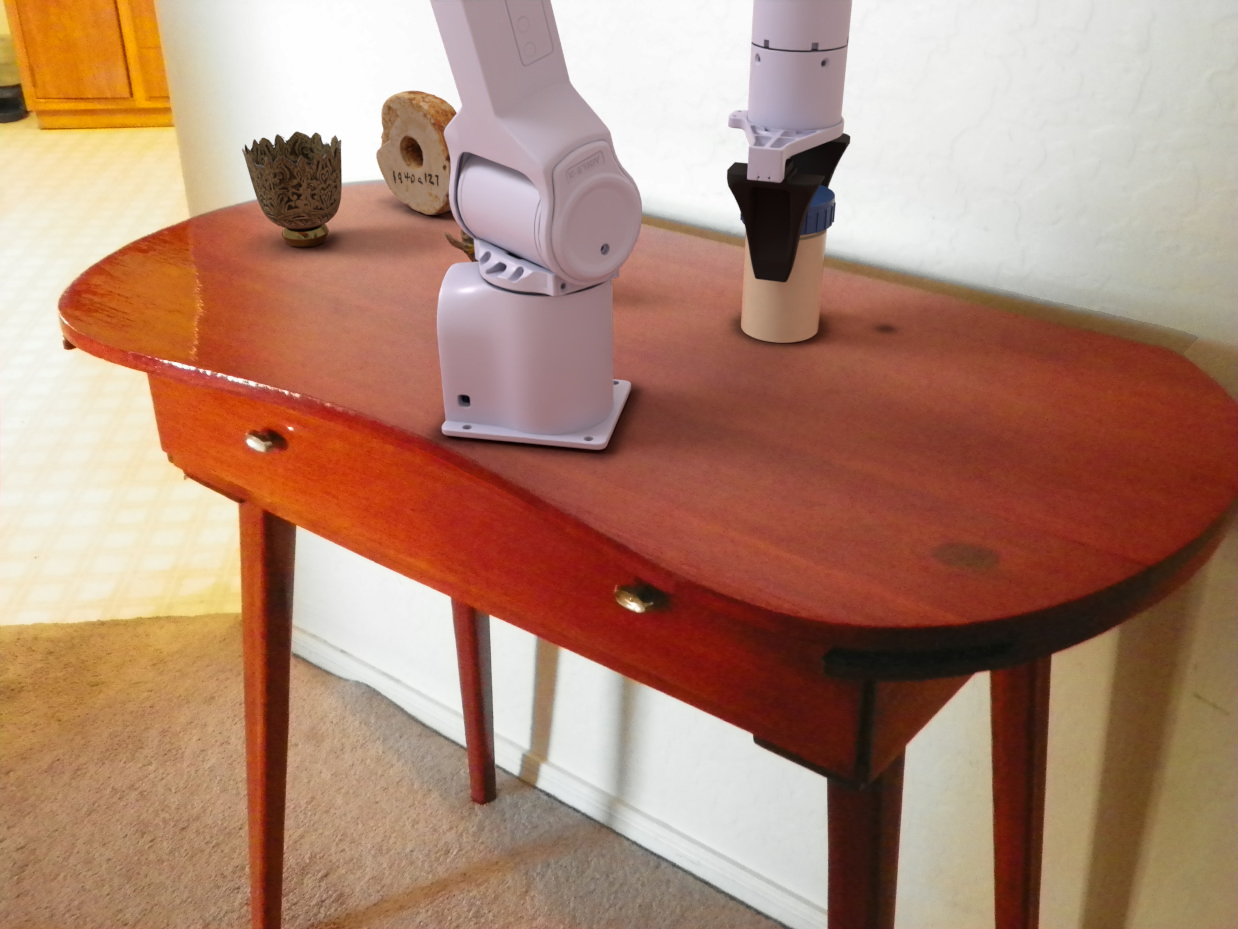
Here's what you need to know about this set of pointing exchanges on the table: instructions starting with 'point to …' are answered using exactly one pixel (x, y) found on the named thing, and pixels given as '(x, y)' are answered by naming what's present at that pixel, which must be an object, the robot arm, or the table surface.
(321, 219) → the cup
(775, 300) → the jar
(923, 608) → the table surface
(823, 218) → the lid
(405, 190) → the stone disc
